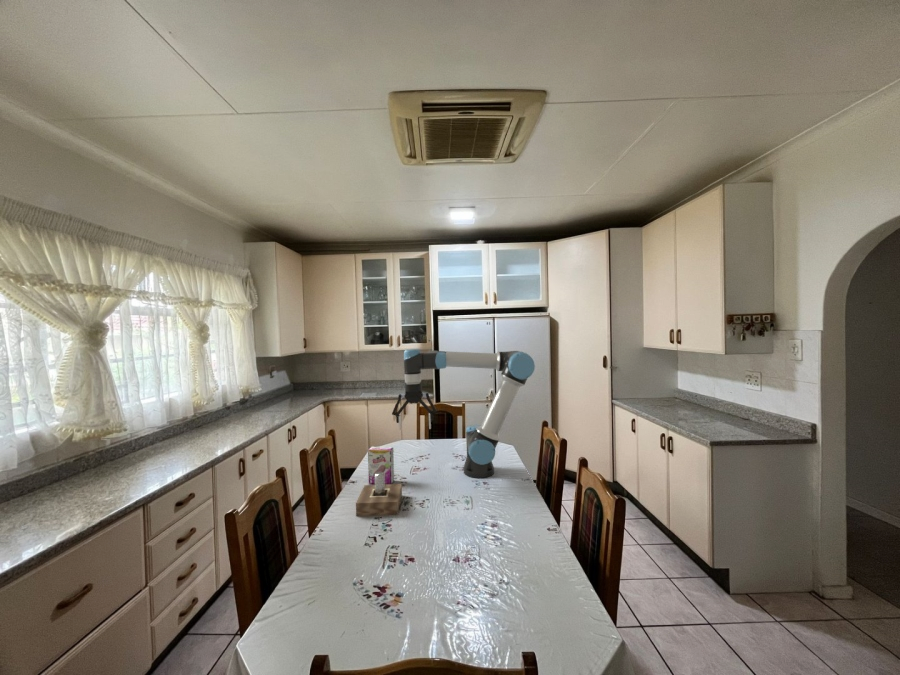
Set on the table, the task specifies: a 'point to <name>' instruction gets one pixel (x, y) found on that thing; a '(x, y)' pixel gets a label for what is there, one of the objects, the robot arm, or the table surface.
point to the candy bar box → (381, 463)
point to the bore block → (379, 501)
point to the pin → (380, 484)
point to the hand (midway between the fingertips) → (415, 429)
